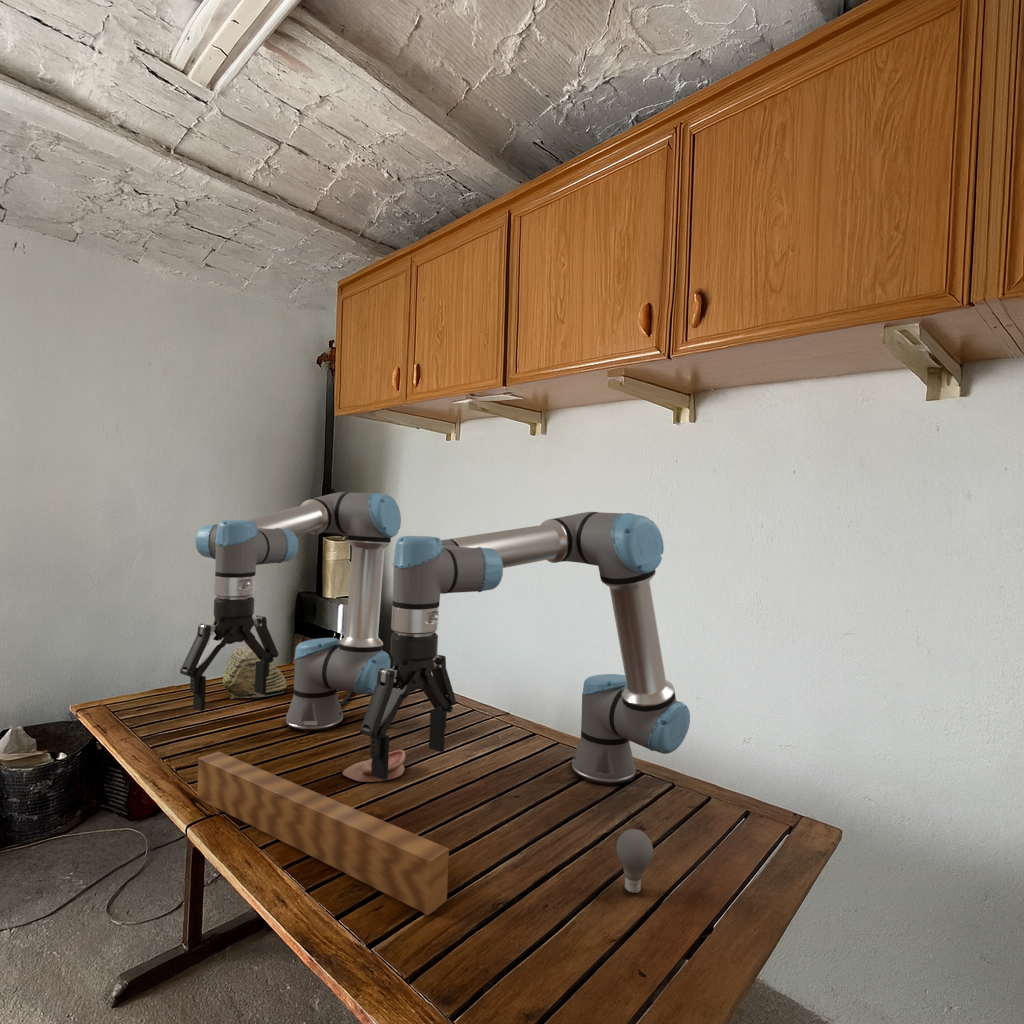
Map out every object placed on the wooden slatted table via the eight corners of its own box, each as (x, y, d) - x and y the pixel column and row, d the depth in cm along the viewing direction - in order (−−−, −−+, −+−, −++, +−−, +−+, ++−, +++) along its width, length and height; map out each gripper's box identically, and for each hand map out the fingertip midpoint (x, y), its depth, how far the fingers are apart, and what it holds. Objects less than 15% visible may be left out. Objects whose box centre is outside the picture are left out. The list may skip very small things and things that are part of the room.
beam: (197, 798, 131) (198, 758, 131) (217, 790, 135) (218, 751, 134) (428, 915, 97) (430, 861, 97) (446, 900, 101) (449, 848, 101)
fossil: (218, 695, 195) (220, 647, 195) (278, 685, 208) (279, 640, 207) (228, 703, 189) (230, 653, 188) (289, 692, 201) (290, 645, 201)
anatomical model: (336, 761, 142) (359, 742, 153) (336, 778, 142) (358, 758, 153) (392, 768, 139) (411, 749, 151) (391, 786, 139) (410, 765, 151)
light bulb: (610, 879, 108) (613, 822, 108) (644, 879, 109) (647, 822, 109) (619, 902, 102) (622, 840, 102) (655, 901, 103) (658, 840, 103)
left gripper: (184, 606, 116) (181, 721, 116) (297, 592, 137) (293, 690, 137) (162, 601, 120) (158, 712, 120) (275, 588, 141) (271, 683, 141)
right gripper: (376, 649, 90) (370, 797, 90) (478, 624, 111) (473, 744, 111) (339, 641, 94) (333, 783, 94) (445, 618, 115) (440, 734, 115)
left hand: (230, 700), depth 128 cm, fingers open, 13 cm apart
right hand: (409, 762), depth 102 cm, fingers open, 13 cm apart
